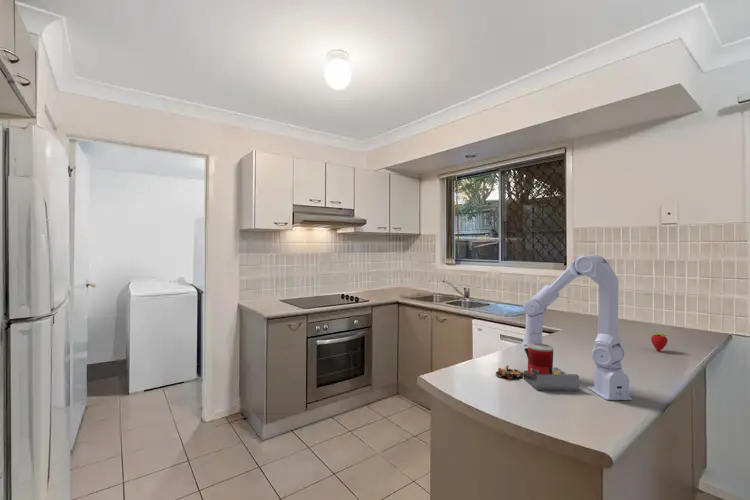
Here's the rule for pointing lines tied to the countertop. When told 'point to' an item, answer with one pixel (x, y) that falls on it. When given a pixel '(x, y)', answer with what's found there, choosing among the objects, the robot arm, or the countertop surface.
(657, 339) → the strawberry
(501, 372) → the brown jagged clump
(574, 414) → the countertop surface
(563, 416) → the countertop surface
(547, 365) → the canned food
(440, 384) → the countertop surface
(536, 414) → the countertop surface
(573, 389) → the coupler bay
